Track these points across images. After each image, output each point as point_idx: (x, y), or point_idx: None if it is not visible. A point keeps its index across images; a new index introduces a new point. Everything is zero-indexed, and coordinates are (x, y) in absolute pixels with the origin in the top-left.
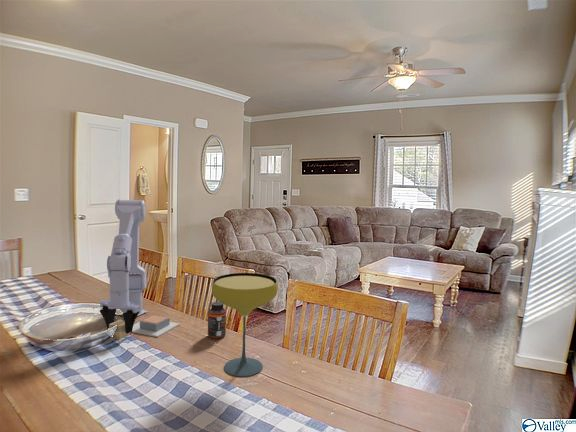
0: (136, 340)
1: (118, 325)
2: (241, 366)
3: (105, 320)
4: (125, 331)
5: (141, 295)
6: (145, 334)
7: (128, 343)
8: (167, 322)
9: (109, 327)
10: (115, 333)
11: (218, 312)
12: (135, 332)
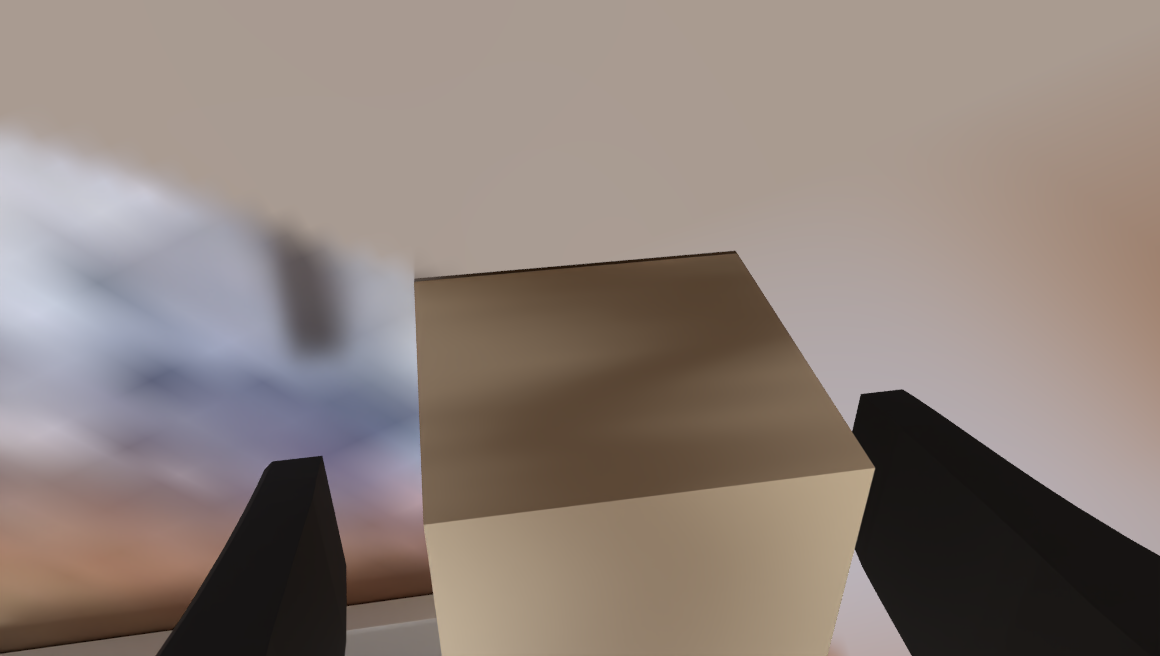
0: (42, 417)
1: (533, 543)
2: None
3: (1092, 538)
4: (312, 482)
5: None
6: (159, 639)
7: (23, 230)
8: None
9: (819, 404)
10: (572, 342)
11: None
12: (415, 603)
